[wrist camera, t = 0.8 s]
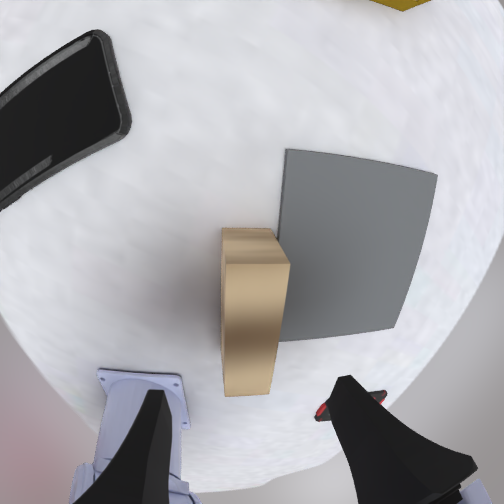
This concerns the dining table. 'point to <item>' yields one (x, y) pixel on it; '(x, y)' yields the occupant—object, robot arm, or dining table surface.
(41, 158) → the phone
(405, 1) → the soap bottle
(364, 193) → the rubber mat
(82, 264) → the dining table surface
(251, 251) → the oak domino
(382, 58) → the dining table surface
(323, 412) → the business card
